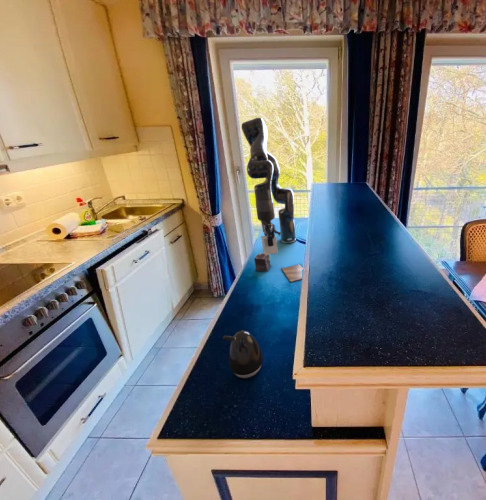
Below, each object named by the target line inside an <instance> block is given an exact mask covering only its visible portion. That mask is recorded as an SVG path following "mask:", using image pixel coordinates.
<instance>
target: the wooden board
mask: <svg viewBox="0 0 486 500" xmlns="http://www.w3.org/2000/svg"><path fill="white" fill-rule="evenodd" d="M303 269H304V268H303V267H302V265H301V264H300V263H299V264H294V265H291V266H287V267H282V268H281V270H282V271H283V273H284V275H285V276H286V278H287V280H288V281H289V282H290V283H294V282H297V281H301V280H303V279H302V270H303Z"/></svg>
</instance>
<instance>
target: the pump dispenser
mask: <svg viewBox="0 0 486 500" xmlns="http://www.w3.org/2000/svg"><path fill="white" fill-rule="evenodd" d="M223 340H225V341H228V342H230V345H229V349H228V365H229V368H230V371H231V372H232V373H233V374H234V375H235V376H237V377H238V378H240V379H241V378H242V379H248V378H251V377H253V376H255V375H257V373H258V372H259V371H260V369H261V367H262V364H263V362H264V354H263V350H262V348H261V346H260V344H259V342H258V341H257V339H256V337H255V336H253V334H252V333H251V332H250V331H247V330H244V329H243V330H239V331H237V332H236V333H235V334H234V335H233V336H231V335H224V336H223Z"/></svg>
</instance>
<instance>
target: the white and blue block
mask: <svg viewBox="0 0 486 500" xmlns="http://www.w3.org/2000/svg"><path fill="white" fill-rule="evenodd" d="M270 236H271V235H270ZM260 239H261V247H262V252H263V254H265V256H266V255H269V256H270V255H274V254H278V253H279V251H278V249H279V248H278V241H277V236H276V234H275V233H274V239H273V246H270V247H269V246H268V239H267V236H265V235H262V236H261V238H260Z"/></svg>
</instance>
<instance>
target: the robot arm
mask: <svg viewBox="0 0 486 500" xmlns="http://www.w3.org/2000/svg"><path fill="white" fill-rule="evenodd" d="M241 131H242V134H243V137H244V138H245V140H246V142H247V143H248V145H249V147H250V149H249V153H250V155H249V156H250V157H249V160H248V162H247V165H246V172H247V175H248V177H249V178H251V179H252V180H253V179H254V180H259V179H265V180H264V181H262V182H260V183H257V184H255V185H254V187H253V191H254V196H255V197H254V198H255V209H256V217H257V221H260V223H261V228H262V233H263V236H267V239H268V246H269V247H270V246H273V239H274V234H275V233H276V234H279V235H280V242H281V243H283V244H293V243H295V242H296V240H297V238H296V225H295V213H294V211H295V194H294V191H293V189H291V188H286V187H281V186H280V183H279V178H280V174H281V168H280V166H279V163H278V161H277V159H276V157H275V156H274V155H273V154H271V153H270V152H268V150H267V144H268V138H269V137H268V136H269V133H268V127H267V125H266V123H265V121H264V119H263V118H262V117H256V118H252V119H250V120H247V121H244V122H242V123H241ZM274 202H275V203H277V204H280V205H284V207H283V208H280V209H278V211H277V213H278V223H279V231H277V230H276V229H275V224H274V223H273V222H272V220H274V219H275V217H276V214H275V213H276V212H275V205H274ZM270 235H271V236H270Z"/></svg>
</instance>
